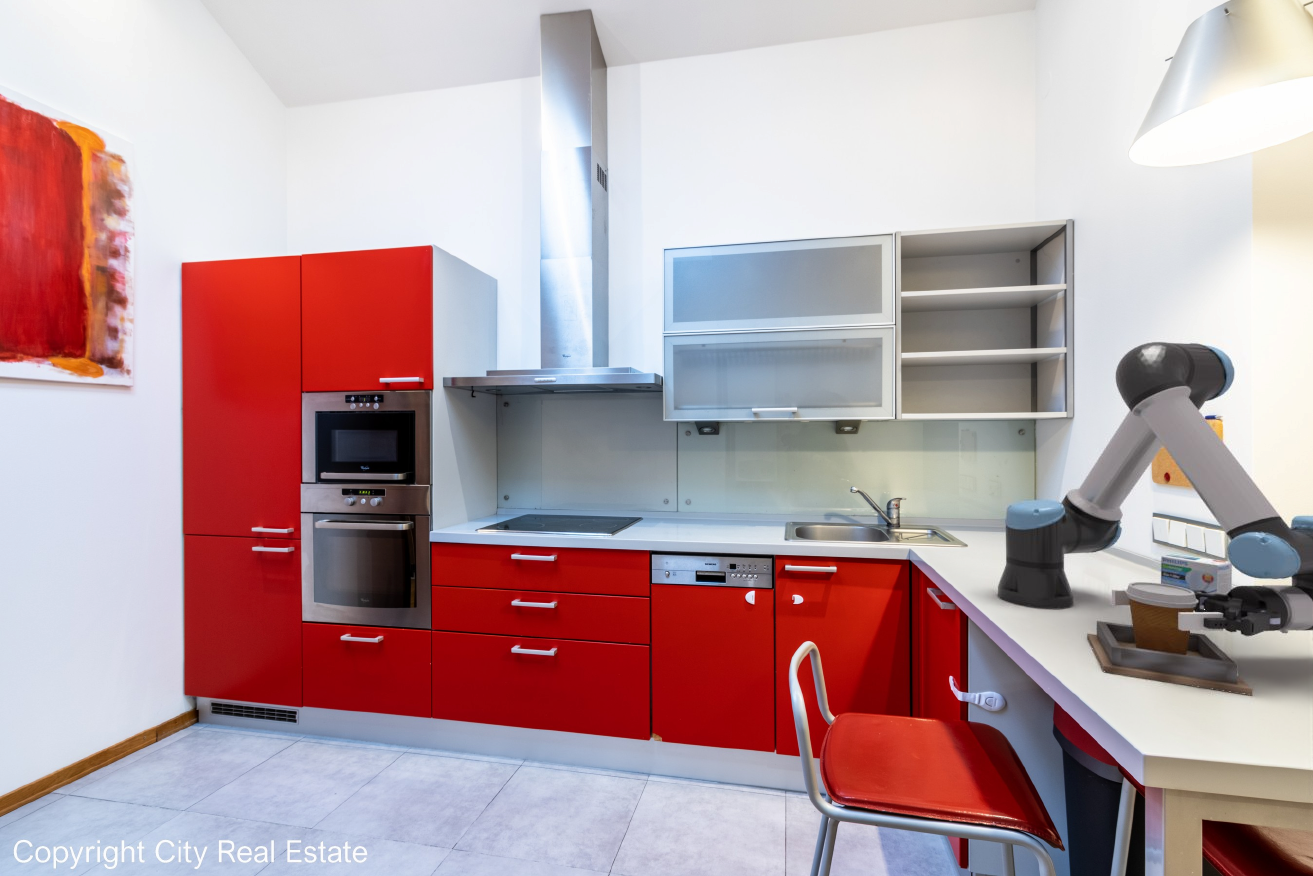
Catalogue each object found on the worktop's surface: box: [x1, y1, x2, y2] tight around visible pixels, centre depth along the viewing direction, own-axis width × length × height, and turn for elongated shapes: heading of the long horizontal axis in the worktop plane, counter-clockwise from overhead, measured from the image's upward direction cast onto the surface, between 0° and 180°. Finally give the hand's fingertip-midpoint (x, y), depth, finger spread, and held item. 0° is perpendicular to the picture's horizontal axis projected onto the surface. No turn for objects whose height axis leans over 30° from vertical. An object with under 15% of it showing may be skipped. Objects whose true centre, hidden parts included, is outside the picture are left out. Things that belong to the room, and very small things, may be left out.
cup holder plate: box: [1086, 620, 1253, 696], centre depth 100 cm, size 18×18×4 cm
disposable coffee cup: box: [1124, 581, 1198, 655], centre depth 100 cm, size 10×10×12 cm
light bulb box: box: [1160, 553, 1233, 609], centre depth 133 cm, size 11×7×11 cm, turn 25°
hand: (1144, 608), depth 100 cm, fingers open, 13 cm apart
